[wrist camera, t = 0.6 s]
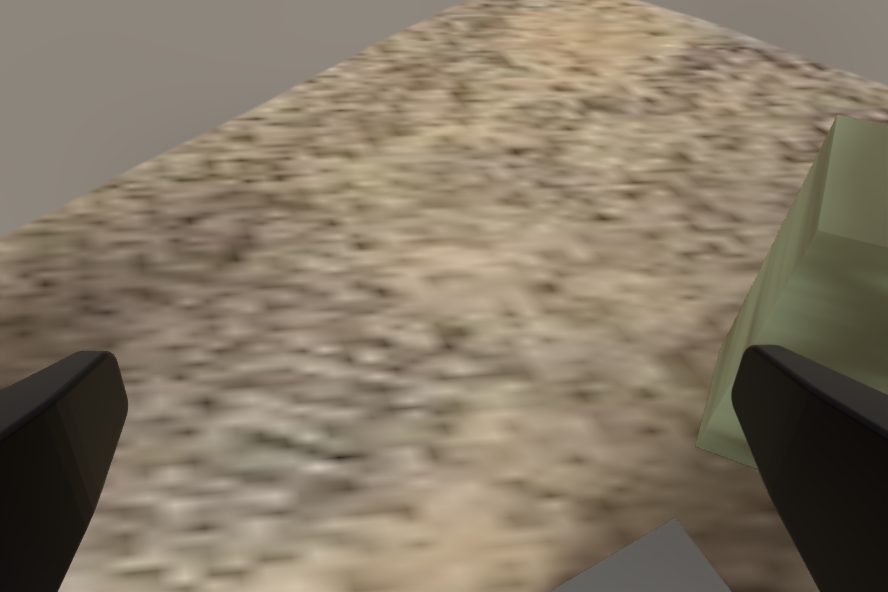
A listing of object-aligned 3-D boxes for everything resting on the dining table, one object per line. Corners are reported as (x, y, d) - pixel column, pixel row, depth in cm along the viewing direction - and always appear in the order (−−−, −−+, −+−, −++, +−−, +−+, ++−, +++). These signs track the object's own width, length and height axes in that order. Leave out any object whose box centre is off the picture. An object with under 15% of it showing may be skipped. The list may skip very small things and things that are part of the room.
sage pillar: (847, 389, 25) (1048, 155, 16) (835, 498, 23) (1069, 292, 13) (720, 349, 27) (837, 114, 18) (695, 446, 24) (817, 230, 15)
